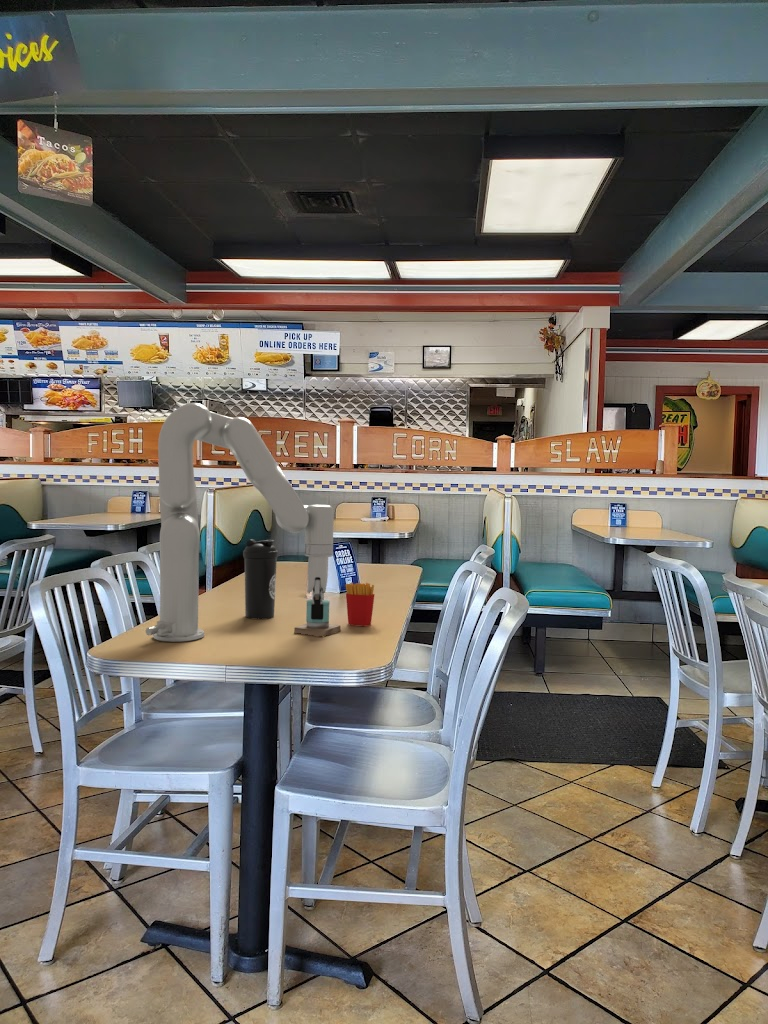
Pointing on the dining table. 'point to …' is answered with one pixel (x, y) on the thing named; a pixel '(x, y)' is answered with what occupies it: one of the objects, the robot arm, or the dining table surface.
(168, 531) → the robot arm
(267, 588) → the water bottle
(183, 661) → the dining table surface
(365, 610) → the french fries
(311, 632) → the post stand
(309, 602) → the cap
